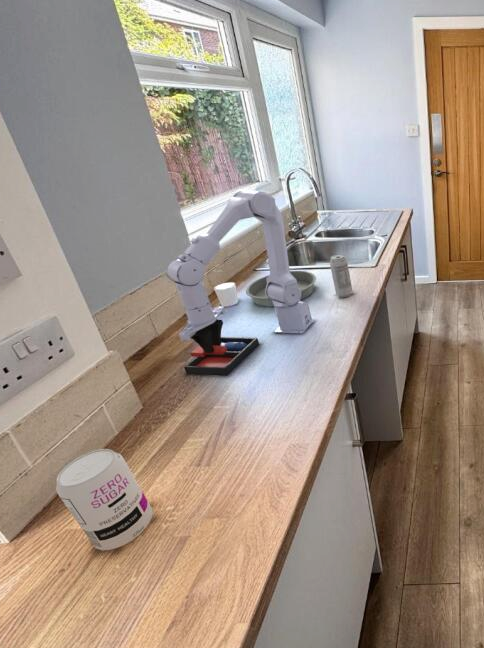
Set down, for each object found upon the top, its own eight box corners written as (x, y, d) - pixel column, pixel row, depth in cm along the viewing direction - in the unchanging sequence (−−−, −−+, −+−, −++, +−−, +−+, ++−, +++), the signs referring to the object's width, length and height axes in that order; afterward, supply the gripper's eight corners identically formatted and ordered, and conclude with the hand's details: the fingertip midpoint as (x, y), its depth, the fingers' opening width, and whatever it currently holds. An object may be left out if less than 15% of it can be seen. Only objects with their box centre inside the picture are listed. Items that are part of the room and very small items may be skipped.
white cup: (231, 307, 145) (225, 290, 142) (215, 306, 146) (209, 289, 143) (244, 299, 151) (239, 282, 148) (228, 298, 152) (223, 281, 149)
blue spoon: (250, 346, 119) (248, 340, 118) (243, 353, 116) (241, 346, 115) (221, 346, 120) (219, 339, 119) (213, 352, 117) (211, 345, 116)
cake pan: (241, 313, 140) (237, 302, 138) (257, 285, 162) (254, 275, 160) (315, 303, 145) (312, 291, 143) (320, 277, 167) (318, 267, 165)
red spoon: (231, 350, 111) (228, 342, 110) (223, 357, 108) (220, 350, 107) (200, 349, 112) (197, 342, 111) (191, 356, 109) (188, 349, 108)
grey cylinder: (350, 289, 154) (343, 252, 148) (355, 295, 149) (348, 257, 143) (334, 293, 151) (326, 256, 145) (338, 299, 147) (331, 261, 140)
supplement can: (117, 509, 73) (79, 448, 66) (164, 504, 73) (131, 443, 67) (82, 555, 65) (35, 492, 59) (135, 549, 66) (94, 486, 59)
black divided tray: (259, 344, 121) (257, 337, 120) (227, 375, 108) (224, 368, 106) (223, 343, 122) (220, 336, 121) (186, 374, 109) (183, 366, 108)
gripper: (202, 292, 110) (217, 334, 116) (160, 318, 97) (180, 364, 103) (226, 292, 110) (240, 335, 115) (187, 318, 97) (205, 365, 102)
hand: (213, 349), depth 109 cm, fingers closed on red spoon, 2 cm apart
